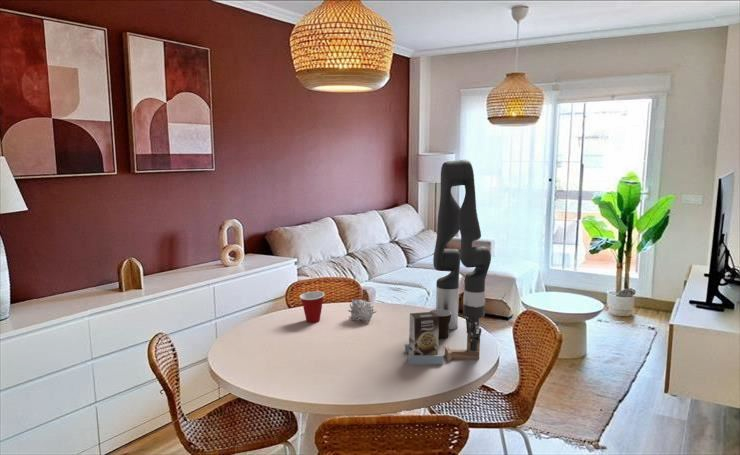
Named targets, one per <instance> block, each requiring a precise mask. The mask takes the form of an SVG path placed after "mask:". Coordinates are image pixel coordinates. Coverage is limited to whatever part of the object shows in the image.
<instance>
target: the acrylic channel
mask: <svg viewBox="0 0 740 455" xmlns="http://www.w3.org/2000/svg"><path fill="white" fill-rule="evenodd" d="M404 353H405V354H408V355H407V356H408V358H407V359H408V360H407V364H408V365H409V366H411V365H412V366H417V365H418V366H419V365H420V366H421V365H425V366H426V365H443V364H444V355H443V354H438V355H409V343H405V344H404Z"/></svg>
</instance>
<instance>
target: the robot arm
mask: <svg viewBox="0 0 740 455" xmlns="http://www.w3.org/2000/svg"><path fill="white" fill-rule="evenodd" d="M475 184H476V183H475V175H474V169H473V165H472V163H471V161H470V160H469V159H457V160H449V161H448V160H447V161H445V162H443V163H442V164H441V169H440V196H439V206H438V214H437V226H436V229H437V231H436V240H435V245H434V252H433V259H432V262H433V268H434V269H435V270H436V271H438V272H449V273H448V274H446V275H445V276H442V277H439V278H438V279H437V280H436V284H435V285H436V286H435V289H436V291H435V292H436V294H435V296H436V297H435V310H436V309H442V310H447V311H450V312H451V320H450V326H449V331H451V330H455V329H457V328H458V323H459V322H458V321H459V296H460V295H459V293H460V292H459V290H460V289H459V288H460V286H459V285H460V282H459V281H460V270H461V269H460V267H461V265H462V266H464V267H465V268H468V269H469V268H474V270H472V271H471V272H467V273H466V275H465V276H464V289H463V295H462V296H463V300H462V301H463V302H462V306H463V307H462V314H463V316H464V317H465V324H466V333H467V332H469V334H470V340H471V343H470V350H471V351H477V341H479V340H480V341H481V335H482V328H480V327H481V322H480V318H484V317H485V310H486V294H485V293H486V292H485V290H486V279H487V275H488V272H489V269H490V264H491V263H492V262H491V261H492V255H491V252H490V249H488V247H486V246H473V242H475V241H478V240H480V238H482V233H481V232H482V230H481V227H480V222H479V219H478V218H479V217H478V213H477V200H476V197H477V196H476V186H475ZM457 186H459V187H461V186H464V191H465V193H464V197H463V202H462V204H461V207H460V205H459V203H458V202H457V201H456V200H455V198H454V196H453V194H452V189H453V188H452V187H457ZM458 233H460V250H459V249H458V248H446V247H447V245H448V243H449V242H451V241H452V240H453V238H454V237H455V236H456V235H457V234H458ZM475 337H476V338H475Z"/></svg>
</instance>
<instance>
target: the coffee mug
mask: <svg viewBox="0 0 740 455" xmlns="http://www.w3.org/2000/svg"><path fill="white" fill-rule="evenodd" d="M429 312H433V313H435V314H436V315H438V316H439V337H438V341H441V340H442V341H443V340H447V339H448V338H449V332H450V330H449V326H450V320H451V312H450V311H447V310H442V309H436V308H435V309H432V310H429Z"/></svg>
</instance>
